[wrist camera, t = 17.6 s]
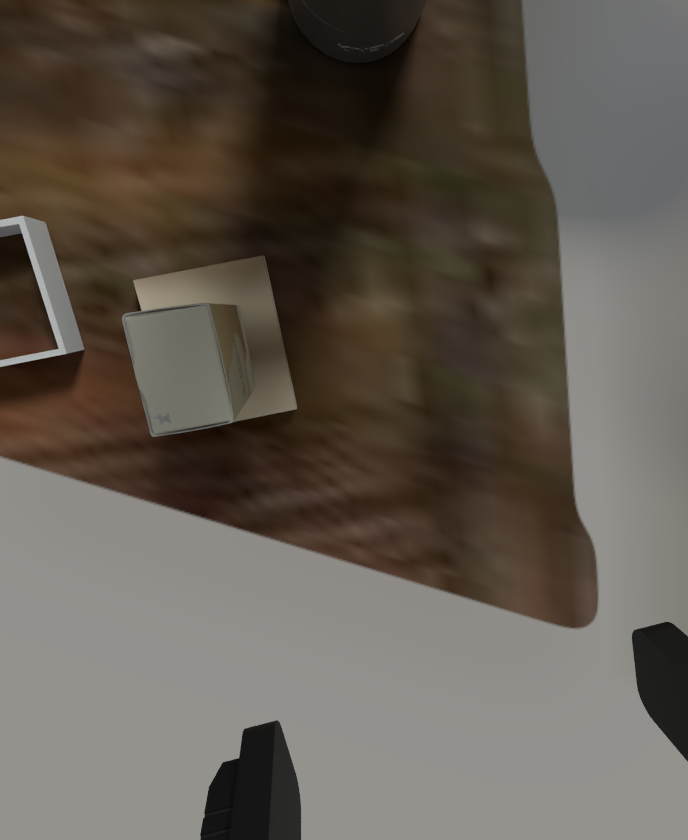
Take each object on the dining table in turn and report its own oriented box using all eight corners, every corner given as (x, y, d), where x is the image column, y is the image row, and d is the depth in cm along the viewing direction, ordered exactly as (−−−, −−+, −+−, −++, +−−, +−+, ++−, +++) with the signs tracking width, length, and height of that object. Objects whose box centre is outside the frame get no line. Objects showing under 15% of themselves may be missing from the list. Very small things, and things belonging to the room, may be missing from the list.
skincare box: (257, 389, 38) (238, 429, 26) (197, 399, 38) (151, 444, 26) (239, 299, 37) (210, 299, 25) (176, 309, 37) (117, 314, 25)
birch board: (139, 281, 37) (133, 280, 36) (264, 257, 38) (263, 255, 36) (180, 428, 40) (175, 433, 39) (296, 405, 40) (296, 409, 39)
